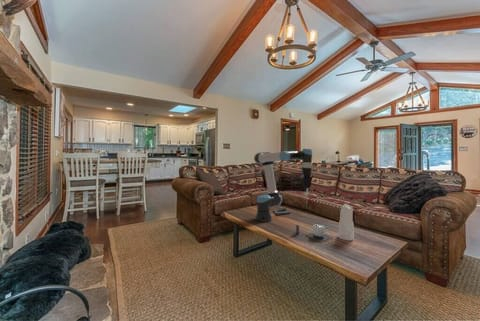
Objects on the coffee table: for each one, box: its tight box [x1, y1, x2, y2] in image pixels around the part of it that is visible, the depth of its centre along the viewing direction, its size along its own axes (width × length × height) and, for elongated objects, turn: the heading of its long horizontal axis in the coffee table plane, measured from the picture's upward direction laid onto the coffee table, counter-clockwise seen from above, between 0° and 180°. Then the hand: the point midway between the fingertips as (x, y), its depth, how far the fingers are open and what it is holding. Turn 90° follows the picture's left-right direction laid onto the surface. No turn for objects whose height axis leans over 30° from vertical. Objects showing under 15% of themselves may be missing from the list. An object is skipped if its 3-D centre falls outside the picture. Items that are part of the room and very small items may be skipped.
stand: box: [293, 224, 302, 237], centre depth 168 cm, size 6×6×8 cm
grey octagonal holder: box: [312, 223, 326, 236], centre depth 163 cm, size 8×8×6 cm
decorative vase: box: [337, 203, 355, 241], centre depth 163 cm, size 11×11×25 cm
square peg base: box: [304, 226, 334, 244], centre depth 163 cm, size 14×14×9 cm
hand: (306, 195), depth 181 cm, fingers closed
